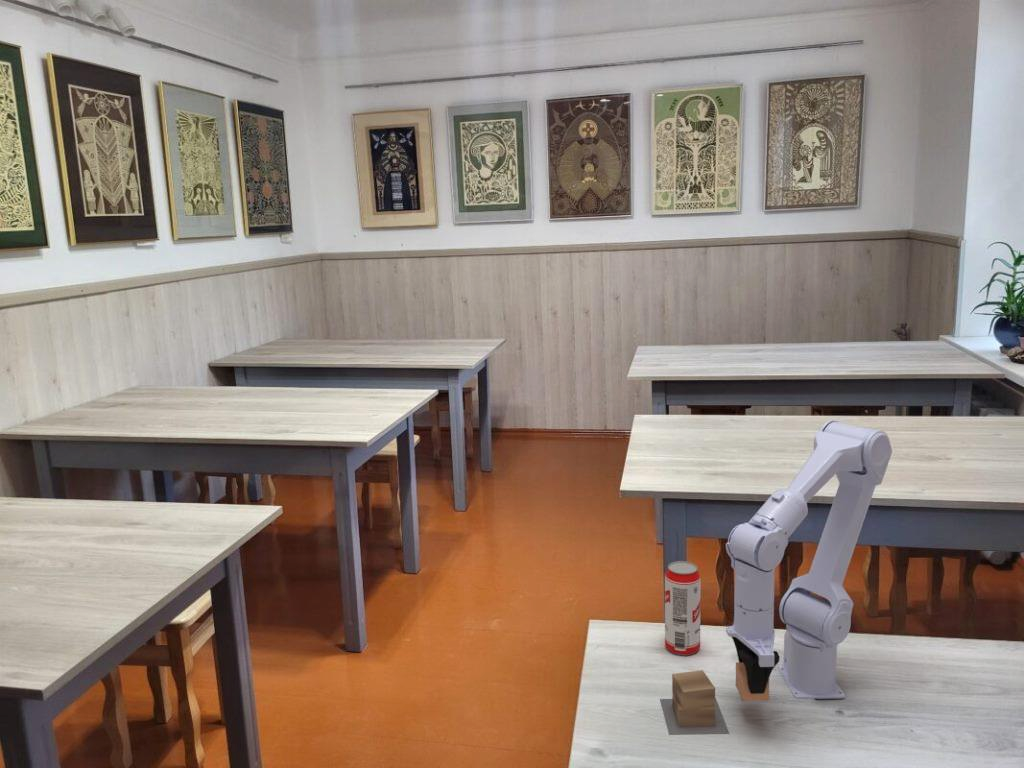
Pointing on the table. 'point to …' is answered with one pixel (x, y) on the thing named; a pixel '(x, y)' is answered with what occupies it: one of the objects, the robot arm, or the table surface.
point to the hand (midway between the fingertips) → (752, 683)
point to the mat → (676, 730)
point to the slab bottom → (693, 715)
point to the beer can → (682, 608)
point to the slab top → (693, 689)
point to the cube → (743, 685)
